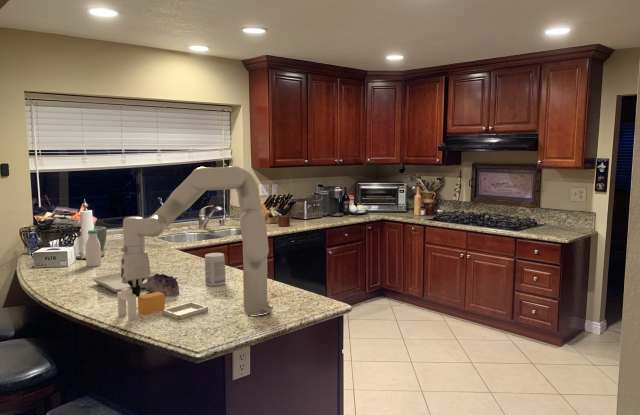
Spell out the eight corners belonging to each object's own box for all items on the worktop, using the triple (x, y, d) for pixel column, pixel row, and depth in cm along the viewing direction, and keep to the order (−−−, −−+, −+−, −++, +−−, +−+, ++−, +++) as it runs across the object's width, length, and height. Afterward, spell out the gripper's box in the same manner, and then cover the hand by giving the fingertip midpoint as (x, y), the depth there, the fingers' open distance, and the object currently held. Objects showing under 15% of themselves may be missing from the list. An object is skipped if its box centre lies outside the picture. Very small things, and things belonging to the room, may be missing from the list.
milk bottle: (104, 265, 277) (102, 230, 275) (91, 267, 271) (90, 231, 269) (96, 263, 281) (94, 228, 279) (83, 265, 275) (81, 230, 273)
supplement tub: (226, 281, 244) (226, 252, 242) (223, 286, 235) (223, 256, 233) (207, 281, 244) (206, 252, 242) (203, 286, 234) (202, 256, 233)
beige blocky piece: (136, 318, 185) (135, 290, 183) (129, 320, 182) (128, 291, 181) (124, 313, 190) (123, 286, 189) (118, 315, 188) (117, 287, 186)
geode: (189, 295, 220) (187, 275, 217) (166, 304, 211) (163, 283, 209) (166, 285, 233) (163, 265, 231) (143, 293, 225) (140, 273, 223)
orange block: (164, 309, 196) (164, 293, 196) (144, 315, 189) (144, 298, 189) (158, 307, 199) (157, 291, 198) (138, 312, 192) (137, 296, 191)
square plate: (90, 285, 236) (90, 277, 236) (144, 275, 256) (144, 268, 256) (116, 296, 218) (115, 288, 217) (171, 285, 238) (171, 277, 237)
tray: (208, 311, 194) (208, 306, 194) (178, 320, 183) (178, 315, 183) (191, 306, 200) (191, 301, 200) (162, 314, 190) (162, 309, 190)
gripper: (121, 253, 178) (122, 302, 180) (157, 247, 190) (158, 293, 192) (110, 250, 183) (112, 298, 185) (146, 245, 195) (147, 290, 196)
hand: (135, 295), depth 188 cm, fingers closed
